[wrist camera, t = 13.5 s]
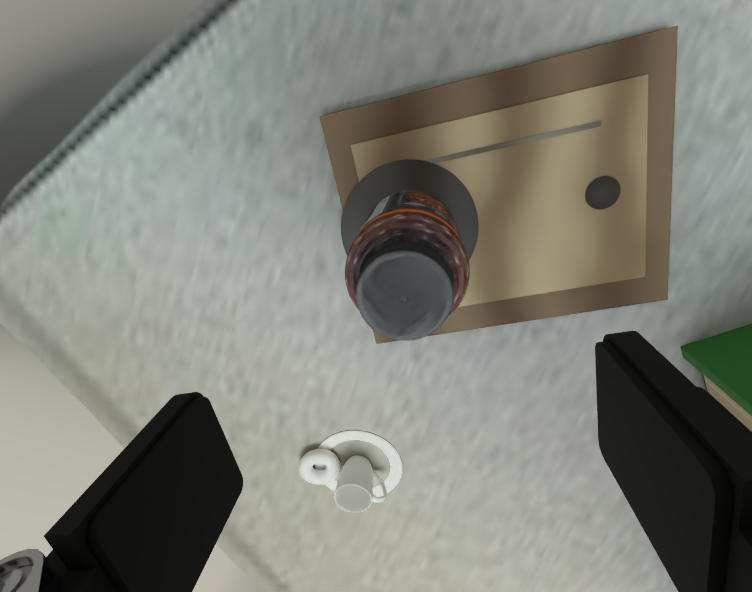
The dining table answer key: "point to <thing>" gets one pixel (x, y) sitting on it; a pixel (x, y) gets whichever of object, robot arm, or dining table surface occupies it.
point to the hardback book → (726, 369)
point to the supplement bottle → (407, 266)
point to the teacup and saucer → (351, 471)
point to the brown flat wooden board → (532, 177)
